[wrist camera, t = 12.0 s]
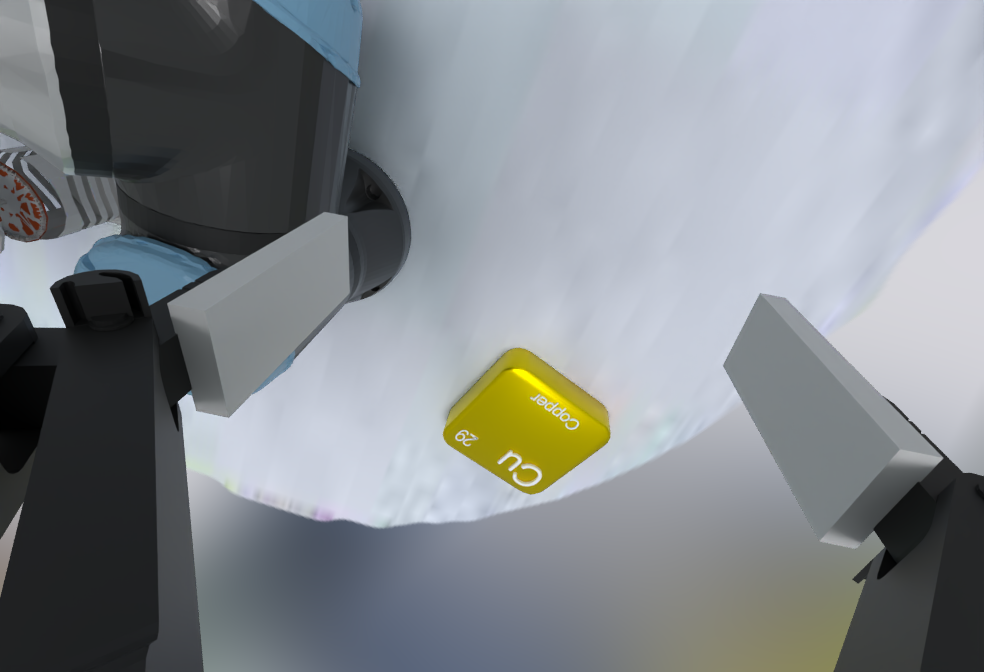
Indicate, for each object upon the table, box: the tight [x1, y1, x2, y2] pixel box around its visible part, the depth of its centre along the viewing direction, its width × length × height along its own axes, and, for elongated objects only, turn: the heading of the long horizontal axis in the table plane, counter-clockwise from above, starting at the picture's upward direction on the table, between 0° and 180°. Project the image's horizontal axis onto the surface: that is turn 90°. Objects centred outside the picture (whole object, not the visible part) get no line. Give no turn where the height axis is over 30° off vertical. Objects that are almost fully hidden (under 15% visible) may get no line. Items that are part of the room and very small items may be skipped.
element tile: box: [443, 348, 610, 494], centre depth 53 cm, size 15×15×5 cm
